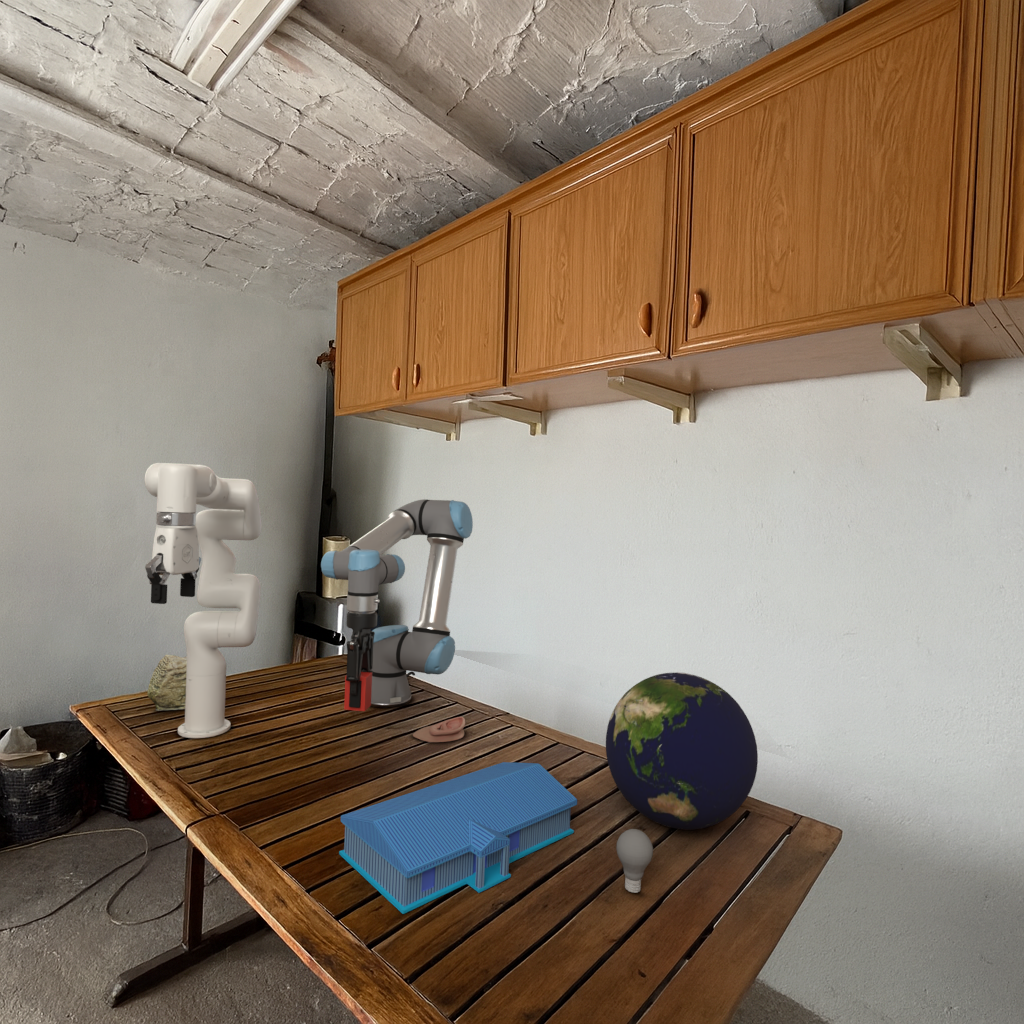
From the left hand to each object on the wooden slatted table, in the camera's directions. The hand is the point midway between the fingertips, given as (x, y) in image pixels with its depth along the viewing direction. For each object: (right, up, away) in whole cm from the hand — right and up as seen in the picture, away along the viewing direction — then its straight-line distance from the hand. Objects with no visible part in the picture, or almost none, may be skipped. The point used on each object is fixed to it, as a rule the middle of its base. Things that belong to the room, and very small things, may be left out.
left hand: (173, 599), depth 137 cm
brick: (+34, -30, +23) cm, 51 cm away
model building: (+65, -43, -20) cm, 80 cm away
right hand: (+34, -29, +23) cm, 51 cm away
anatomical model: (+53, -42, +34) cm, 76 cm away
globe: (+107, -45, -7) cm, 116 cm away
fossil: (-23, -38, +48) cm, 65 cm away
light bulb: (+93, -44, -31) cm, 108 cm away
